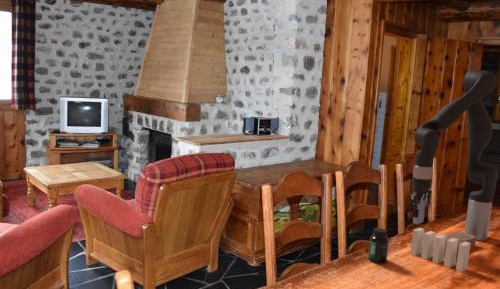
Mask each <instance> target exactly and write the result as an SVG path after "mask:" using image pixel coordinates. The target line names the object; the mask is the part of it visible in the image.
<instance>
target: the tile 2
mask: <svg viewBox="0 0 500 289" xmlns="http://www.w3.org/2000/svg"><path fill="white" fill-rule="evenodd" d="M424 233H425V228H422V227H418V228H415V229H413V230H412V237H411V248H410V255H412V256H414V257H415V256H418V255H420V254H422V247H423V238H424Z"/></svg>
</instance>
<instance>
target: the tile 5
mask: <svg viewBox="0 0 500 289" xmlns="http://www.w3.org/2000/svg"><path fill="white" fill-rule="evenodd" d="M457 246H458V239H455V238H452V239H449V240H447V245H446V250H445V252H444V260H443V267H446V268H447V269H448V268H449V269H450V268H451V267H454V266H455V265H456V263H457V255H458V252H457Z"/></svg>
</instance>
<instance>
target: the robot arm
mask: <svg viewBox="0 0 500 289" xmlns="http://www.w3.org/2000/svg"><path fill="white" fill-rule="evenodd" d="M497 80H498V79H497V75H496V74H494V73H493V72H492V71H487V70H481V69H470V70H468V71H467V72H466V73H465V74H464V77H463V82H462V84H463V91H464V94H463V95H462V96H460V97H458V98H456V99H454V100H452V101H450V102H449V103H447V104H446V105H444V106H442V108H441V109H440V110H439V111H438V112H437V113H436V114H435V115H434V116H433V117H432V118H431V119H428V120H427V121H426V122H424V123H423V124H422V125H420V126H419V127H418V128H417V129H416V130H415V132H414V136H413V139H414V141H415V142H416V143H417V144H418V145H422V146H421V149H420V150H418V151H417V152H416V153H415V158H414V166H413V169H412V170H413V171H412V180H411V182H412V184H411V187H412V188H414V190H413V194H412V193H410V194H409V206H410V208H412V218H413V217H416V218H417V217H418V214H419V206H420V204H421V203H422V200H424V199H425V209H424V216H425V215H426V207H427V206H428V205H429V204H430V201H431V196H432V193H433V192H432V190H431V189H432V184H433V175H434V169H433V168H434V157H435V154H436V153H437V150H438V147H439V144H440V136H439V133H438V132H443V131H446V130H447V129H448V128H450V127H451V126H452V124H453V123H454V122H456V120H457V119H458V118H460V117H461V115H462V114H463V113H465V112H466V115H467V116H466V118H467V138H468V140H467V141H468V164H467V177H468V180H469V182H470V183H472V184H476V185H479V186H480V185H481V186H482V189H480V190H473V191H471V192H470V193H469V196H468V204H467V212H466V217H465V218H466V220H465V227H464V233H467V234H470V235H473V236H475V237H476V241H482V242H484V241H487V240H488V235H489V229H490V228H489V227H490V223H491V222H490V221H491V220H490V219H491V215H492V214H491V213H492V207H493V201H494V200H493V199H494V195H495V193H496V186H497V184H498V183H497V182H498V178H499V177H498V176H499V172H498V168H497V166H495V165H491V164H485V163H481V156H482V155H481V154H482V153H483V151H484V150H485V148H486V147H487V146H488V145H489V143H490V142H491V139H492V138H493V137H492V136H493V125H492V124H493V122H492V119H491V117H490V114H489V112H488V110H487V108H486V107H485V104H484V102H483V98H485V97H486V96H487V95H488V94H490V93H491V92H492V91H493V90H494V89H495V88H496V85H497V82H498V81H497ZM417 200H419V201H417ZM417 203H418V204H417Z"/></svg>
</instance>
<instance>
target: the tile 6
mask: <svg viewBox="0 0 500 289" xmlns="http://www.w3.org/2000/svg"><path fill="white" fill-rule="evenodd" d="M470 244H471V243H468V242H463V243H461V244H459V250H458V252H457V257H456V264H455V265H456V267H455V271H457V272H459V273H462V272H465V271H466V270H468V266H469V257H470V250H471V248H470Z"/></svg>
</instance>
